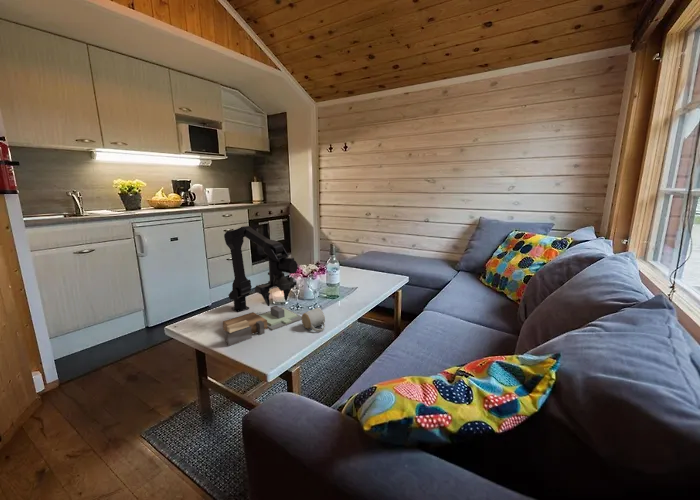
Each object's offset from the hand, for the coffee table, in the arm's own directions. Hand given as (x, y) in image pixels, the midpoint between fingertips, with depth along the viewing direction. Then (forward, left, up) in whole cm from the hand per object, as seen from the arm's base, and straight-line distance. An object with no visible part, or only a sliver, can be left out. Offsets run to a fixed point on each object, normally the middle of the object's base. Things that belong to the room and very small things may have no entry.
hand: (277, 303), depth 146 cm
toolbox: (+1, -18, -8) cm, 20 cm away
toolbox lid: (+1, 0, -7) cm, 7 cm away
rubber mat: (0, 0, -8) cm, 8 cm away
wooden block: (+7, -23, -2) cm, 24 cm away
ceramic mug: (+19, +6, -8) cm, 22 cm away
